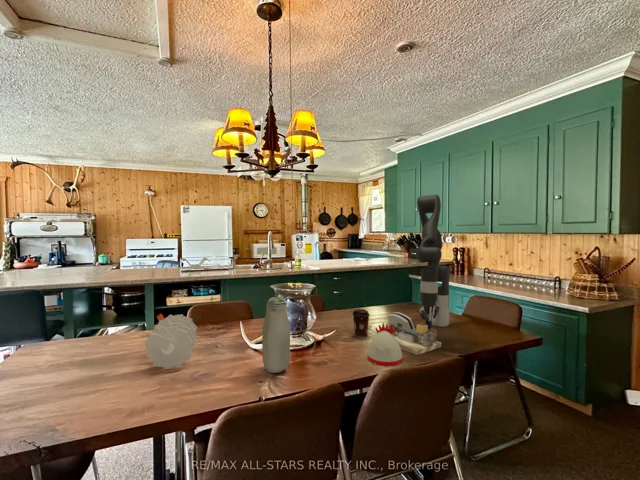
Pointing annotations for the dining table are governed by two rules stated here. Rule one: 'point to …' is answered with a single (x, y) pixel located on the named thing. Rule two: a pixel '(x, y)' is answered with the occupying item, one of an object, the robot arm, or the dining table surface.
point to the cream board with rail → (416, 341)
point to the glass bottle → (276, 336)
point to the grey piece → (400, 320)
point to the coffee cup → (361, 323)
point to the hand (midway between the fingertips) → (428, 328)
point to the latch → (421, 328)
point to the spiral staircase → (171, 341)
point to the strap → (409, 330)
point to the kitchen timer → (385, 348)
